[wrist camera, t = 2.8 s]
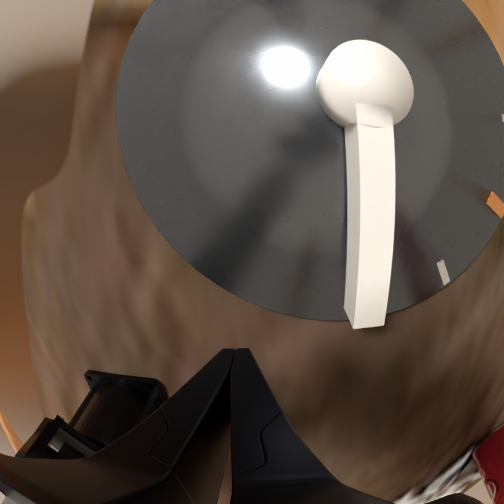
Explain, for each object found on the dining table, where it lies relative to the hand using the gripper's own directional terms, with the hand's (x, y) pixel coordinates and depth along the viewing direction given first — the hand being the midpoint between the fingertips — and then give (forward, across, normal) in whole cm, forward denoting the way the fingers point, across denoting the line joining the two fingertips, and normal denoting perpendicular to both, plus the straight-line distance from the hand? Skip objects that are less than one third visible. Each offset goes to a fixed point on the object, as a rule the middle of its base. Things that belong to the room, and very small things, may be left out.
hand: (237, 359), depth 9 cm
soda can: (+7, -30, +26) cm, 40 cm away
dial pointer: (+6, -6, -5) cm, 10 cm away
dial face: (+7, -6, -9) cm, 13 cm away
